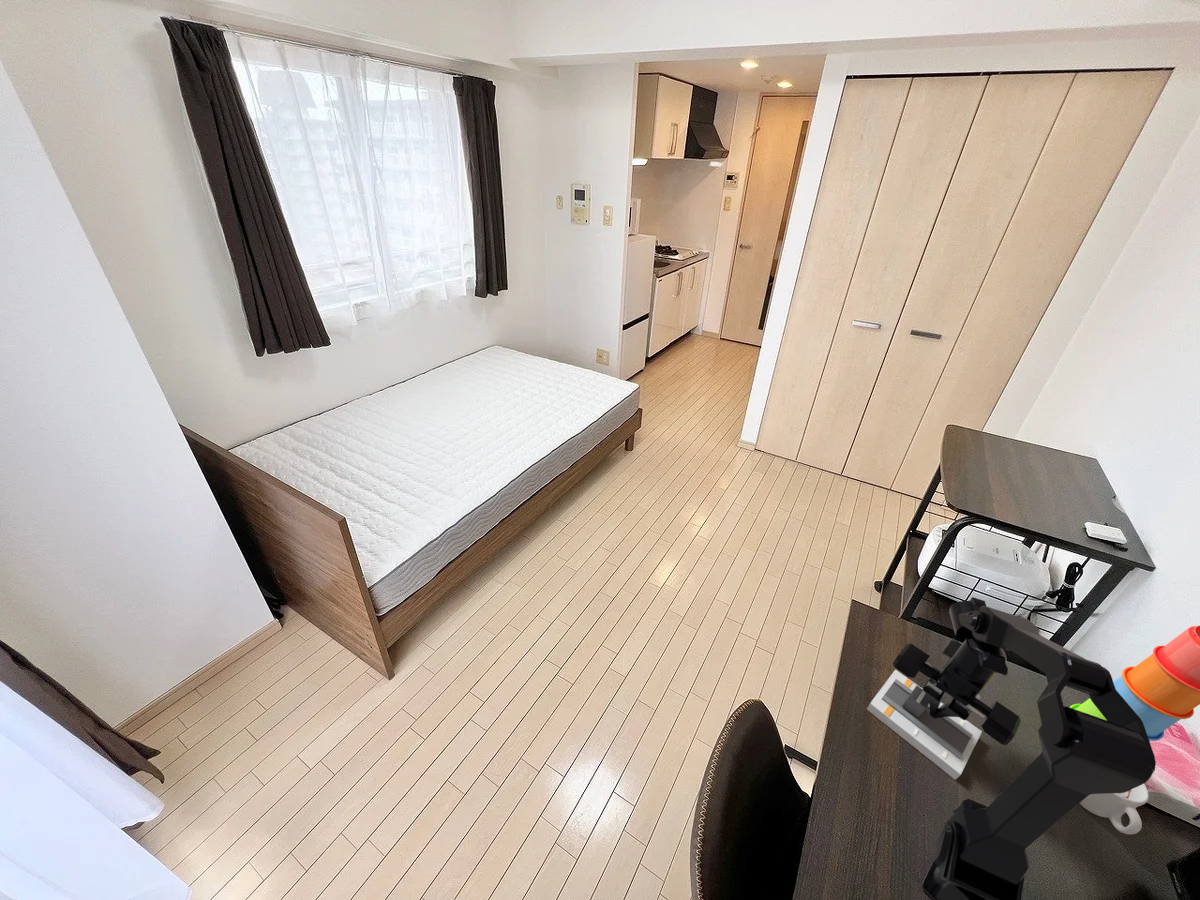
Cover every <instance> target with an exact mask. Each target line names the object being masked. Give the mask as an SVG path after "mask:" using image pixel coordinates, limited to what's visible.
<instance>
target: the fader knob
mask: <svg viewBox="0 0 1200 900" xmlns="http://www.w3.org/2000/svg"><path fill="white" fill-rule="evenodd" d="M917 685H918V684H917ZM917 685H916V687H915V688H914V690H913V691H912V692H911V694H910V695H909V696H908V698H907V699H906V701H905V702H904V704H903V705H902V707H904V708H905V709H906V710H908V711H909V712H910V713H912V714H913V715H914V716H916V717H917V718H919V717H920V715H921V714H922V713H923V712H924V710H925V709H926V708H927V706H928V704H929V699H928V695H927V694H926V693H925V692H924V691H923V688H922V687H921V688H922V689H921V688H920V685H918V686H917Z"/></svg>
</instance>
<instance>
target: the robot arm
mask: <svg viewBox="0 0 1200 900" xmlns="http://www.w3.org/2000/svg"><path fill="white" fill-rule="evenodd" d="M948 611H949V616H950V619H951V623H952V627H953V631H954V635H955V638H956V639H957V640H956V639H955V638H951V640H950V641H949V642H948V644H947V645H946V646H945V648H944V650H943V651H942V654H943V655H944V656H946V657H947V658H949V659H948V661H947V662H946V663H945V664H944V666H943V667H942V670H939V669H938V668H936V667H935V666H933V665H932V664H930V663H929V662H927V661H928V659H929V658H930V656H931V655H929V654H927V653H926V652H924V651H923V650H921V649H920V648H919V647H918V646H916V645H915V644H912V643H906V645H905V646H904V647H903V649H901V651H900V652H899V653H898V655H897V656H896V658H895V659H894V660H893V662H892V665H893V667H894V668H895V669H896V670H897V671H898V672H900V673H901V674H903V675H904V676H905V677H907V678H913V679H915V678H916V677H917V675H918V674H919V672H920V673H921V674H923V675H924V676H925V677H927V678H928V679H927V681H926V683H925V684H924V686H923V687H922V689H923V691H924V692H925V693H926V694H927V695H928V699H929V704H930V716H931V717H933V718H941V717H959V718H961V719H962V720H967V719H968V718H969V716H970V714H971V713H974V714H976V715H978V716H979V717H980V718H982V719H983V720H985V721H983V722H982V723H981V728H982V729H983V733H985V734H986V735H988V736H989V737H991V738H992V739H994V740H995V741H996V742H998V744H1000V745H1003V746H1008V745H1009V744H1010V742H1011V741H1013V739H1014V738H1015V736H1016V734H1017V731H1018V729H1019V728H1020V724H1021V722H1022V721H1021V717H1020V716H1019V715H1018V714H1017V713H1015V712H1013V711H1011V710H1010V709H1009V708H1007V707H1006V706H1004V705H1003V704H1001V703H1000V702H999V701H997V700H995V701H994V702H993V703H992V704H991V707H990V706H989V705H988V704H986V703H984V702H983V701H981V700H980V699H981V695H980V693H981V691H982V690H983V689H984V688H985V687H986V685H988V683H989V682H990V681H991V680H992V679H993V678H994V677H995V675H996V674H997V673H998V674H1000V675H1003V676H1008V671H1009V668H1008V665H1007V660H1008V659H1007V655H1006V652H1005V651H1008V652H1011V654H1013V655H1015V656H1016V657H1018V658H1020V659H1021V660H1023V661H1024V662H1026V663H1027V664H1029V665H1031V666H1032V667H1034V668H1036V669H1037V670H1039V671H1040V672H1042V673H1043V674H1045V676H1046V682H1047V685H1046V686H1045V688H1044V690H1043V691H1042V693H1040V694H1041V695H1040V696H1038V699H1037V709H1038V713H1039V717H1040V723H1041V725H1040V727H1039V728H1038V731H1037V732H1038V737H1039V741H1040V747H1041V752H1040V754H1039V755H1038V756H1037V757H1036V758H1035V759H1034V760H1033V761H1032V762H1031V763H1030V764H1029V765H1028V766H1027V767H1026V768H1025V769H1024V770H1023V771H1022V772H1021V773H1020V774H1019V775H1018V776H1017V777H1016V778H1015V779H1014V780H1012V782H1011V783H1010V784H1009V785H1008V786H1007V787H1006V788H1005V789H1004V790H1003V791H1002V792H1001V793H1000V794H999V795H998V796H997V797H996V798H995V799H994V800H993V801H992V802H991V803H990V804H989V805H988V806H987V805H985V804H982V803H980V802H978V801H975V800H972V799H970V798H967V799H964V800H962V802H961V803H960V805H959V807H958V808H956V809H952V813H953V815H952V816H951V817H950V818H949V819H948V820H947V821H946V822H945V824H944V826H943V828H942V830H941V832H940V833H939V834H940V835H939V836H938V839H937V840H936V853H935V854H934V855H933V857H932V859H933V860H932V862H931V863H930V866H929V868H928V870H927V872H926V874H925V877H924V879H923V880H922V883H921V889H922V890H923V891H924V892H925V893H926V894H927V895H928V896H929V897H930V898H931V899H932V900H1022V897H1023V892H1024V891H1023V890H1024V882H1025V877H1026V876H1025V875H1026V874H1027V873H1028V871H1029V870H1030V864H1029V859H1028V854H1027V851H1026V850H1027V849H1028V847H1030V846H1032V844H1033V843H1034V842H1035V841H1036V840H1038V839H1039V838H1040V837H1041V836H1043V835H1044V834H1045V833H1046V832H1047V831H1048V830H1050V828H1052V827H1053V826H1055V824H1057V823H1058V822H1059V821H1060V820H1061V819H1063V818H1064V817H1065V816H1066V815H1067V814H1068V813H1070V812H1071V811H1072V810H1073V809H1074V808H1075V807H1077V806H1078V805H1080V804H1079V803H1080V802H1081V801H1083V800H1084V799H1085V798H1086V797H1087V796H1088V795H1090V794H1106V793H1124V792H1127V791H1129V790H1131V789H1133V788H1136V787H1138V786H1140V785H1142V784H1146V783H1147V782H1149V780H1150V779H1151V778H1152V775H1153V774H1154V772H1155V770H1156V763H1157V761H1156V757H1155V754H1154V751H1153V747H1152V745H1151V741H1150V742H1149V739H1148V736H1147V733H1146V730H1145V727H1144V724H1143V722H1142V720H1141V719H1140V717H1139V716H1138V715H1137V714H1136V713H1135V712H1134V710H1133V709H1132V708H1131V707H1130V706H1129V705H1128V703H1127V702H1126V701H1125V700H1124V699H1123V697H1122V696H1121V695H1120V694H1119V693H1118V692H1117V690H1116V689H1115V686H1114V683H1113V682H1114V680H1113V677H1112V674H1111V673H1110V670H1109V669H1107V668H1106V667H1104V666H1102V665H1101V664H1100V663H1098V662H1095V661H1093V660H1089V659H1086V658H1084V657H1083V656H1080V655H1079V654H1077V653H1075V652H1073V651H1072V650H1069V649H1067V648H1065V647H1063V646H1062V645H1060V644H1057V643H1056V642H1054V641H1052V640H1050V639H1048V638H1047V637H1044V636H1042V635H1041V634H1040V631H1041V630H1040V629H1039V628H1038V626H1037V625H1035V624H1034V622H1032V621H1031V620H1030V619H1028V618H1024V617H1021V616H1018V615H1015V614H1011V613H1008V612H1006V611H1002V610H999V609H996V608H992V607H990V606H988V605H987V604H986V600H982V599H980V598H977V597H972V596H971V598H970V600H962V601H957V602H955V603H952V604H951V605H950V606H949V610H948ZM959 641H960V642H959ZM1065 687H1067V688H1070V689H1073V690H1076V691H1079V692H1081V693H1084V694H1087V695H1088V696H1089V698H1090V699H1091V701H1092V702H1093V703H1094V705H1095V706H1096V707H1097V708H1098V710H1099V711H1100V712H1101V713H1102V715H1103V716H1104V717H1105V718H1106V720H1104V719H1101V718H1098V717H1095V716H1092V715H1090V714H1087V713H1084V712H1081V711H1078V710H1075V709H1073V708H1069V707H1070V706H1064V703H1063V698H1062V694H1061V693H1062V691H1063V690H1064V688H1065ZM946 694H948V695H949V696H951V697H950V698H949V699H948V700H946V701H945V702H944V703H943V705H942V706H940V703H941V702H942V701H943V699H944V697H945V695H946ZM939 706H940V707H939Z"/></svg>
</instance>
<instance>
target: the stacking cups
mask: <svg viewBox="0 0 1200 900" xmlns="http://www.w3.org/2000/svg"><path fill="white" fill-rule="evenodd" d="M1113 683H1114V686H1115V689H1116V690H1117V692H1118V693H1119V694H1120V695H1121V696H1122V697H1123V699H1124V700H1125V701H1126V702H1127V703H1128V705H1129V706H1130V707H1131V708H1132V709H1133V710H1134V712H1135V713H1136V714H1137V715H1138V716H1139V717H1140V719H1141V720H1142V722H1143V724H1144V727H1145V730H1146V733H1147V736H1148V739H1149V742H1150V743H1151V742H1156V741H1157V742H1158V741H1160V740H1162V739H1163V738H1164V737H1165V731H1166V730H1167V729H1169V728H1170V727H1172V726H1173V725H1175V724H1176V723H1178V722H1179V721H1181V720H1187V719H1190V718H1192V717H1193V716H1194V713H1195V712H1194V711H1195V710H1194V709H1195V708H1197V707H1198V706H1200V625H1194V626H1193V625H1192V626H1190V627H1188V628H1187V629H1185V630H1183V632H1181V633H1180V634H1178V635H1177V636H1176V637H1175V638H1173V639H1172V640H1170V641H1169V642H1168V643H1167V644H1165V645H1158V646H1154V648H1153V650H1152V653H1151V654H1150V655H1149V656H1147V657H1146V658H1145V659H1144V660H1142V661H1141V662H1140V663H1138V664H1136V665H1135V666H1127V667H1125V668H1124V669H1123V670H1122V671H1121V675H1120V676H1119V677H1118V678H1117V679H1115V680H1113ZM1068 707H1069V708H1073V709H1075V710H1078V711H1081V712H1084V713H1087V714H1090V715H1092V716H1095V717H1098V718H1101V719H1104V720H1106V718H1105V717H1104V716H1103V715H1102V713H1101V712H1100V711H1099V710H1098V708H1097V707H1096V706H1095V705H1094V703H1093V702H1092V701H1091V699H1090V697H1089V698H1088V699H1086V700H1085V701H1084V702H1083V703H1074V704H1072V705H1070V706H1068Z"/></svg>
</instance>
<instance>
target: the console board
mask: <svg viewBox="0 0 1200 900" xmlns="http://www.w3.org/2000/svg"><path fill="white" fill-rule="evenodd" d="M916 685H917V686H919V684H917V683H915V681H912V680H911V679H909V677H907V676H906V675H905V674H903V673H902V672H901V671H899V670H898V669H896V668H895V670H894V671H893V672H892V674H891V675H889V678H887V680H886V681H885V683H884V684H883V685H882V687H881V688H880V689H879V690H878V691H877V693H876V695H875V696H874V698H873V699H872V700H871V702H870V703H869V704H868V706H867V707H866V710H867V711H868V712H869V713H871V714H872V715H873V716H875V717H876V718H877V719H878V720H880V721H881V722H882V723H883V724H884V725H886V726H887V727H888V728H890V729H891V730H892V731H893V732H895V733H896V734H897V735H898V736H900V737H901V738H902V739H904V740H905V742H908V744H910V745H911V746H913V747H914V748H915V749H916V750H917V751H918V752H919V753H920V754H922V755H923V756H924V757H926V758H927V759H928V760H930V761H931V762H933V764H934V765H936V766H937V767H938V768H940V769H941V770H942V771H943V772H944V773H946V774H947V775H949V777H951V778H952V779H953V780H955V781H956V780H957V779H958V778H959V777H960V776H961V775H962V773H963V771H964V769H965V767H966V764H967V763H968V761H969V759H970V758H971V757H970V756H971V754H972V753H973V750H975V749H974V748H975V747H976V744H977V742H978V741H979V738H980V737H981V735H982V732H983V731H982V730H981V729H979V728H978V727H976V726H975V725H973V724H972V723H971V722H970V721H968V720H967V719H966V720H962V719H961V718H959V717H941V718H933V717H931V716H930V704H928V706H927V708H926V709H925V710H924V712H923V713H922V714H921V715H920V717H919V718H917V717H916V716H914V715H913V714H912V713H910V712H909V711H908V710H906V709H905V708H904V707H902V705H903V704H904V702H905V701H906V699H907V698H908V696H909V695H910V694H911V692H912V691H913V690H914V688H915V687H916ZM919 687H920V686H919ZM920 688H921V689H923V687H920ZM943 704H944V703H943V702H942V701H941V703H940V706H942V705H943ZM940 706H939V707H940Z"/></svg>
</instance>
